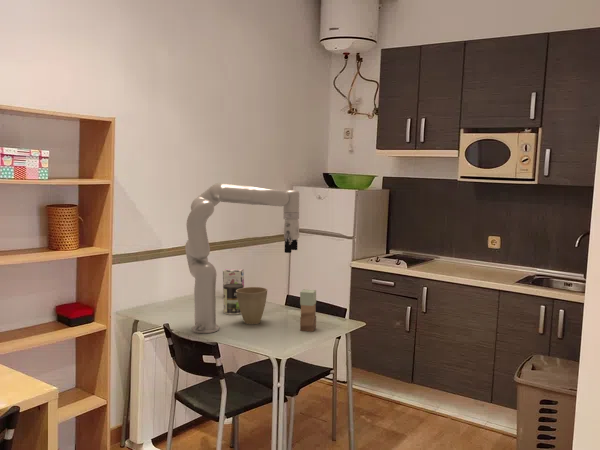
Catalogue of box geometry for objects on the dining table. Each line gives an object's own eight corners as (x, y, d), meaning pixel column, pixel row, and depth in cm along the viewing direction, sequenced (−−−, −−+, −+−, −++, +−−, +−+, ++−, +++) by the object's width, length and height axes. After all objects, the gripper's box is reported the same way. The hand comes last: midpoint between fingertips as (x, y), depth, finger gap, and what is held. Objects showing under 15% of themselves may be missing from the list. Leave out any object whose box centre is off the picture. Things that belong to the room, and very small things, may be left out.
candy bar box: (244, 297, 338) (244, 269, 336) (242, 299, 333) (241, 270, 331) (225, 296, 340) (225, 268, 338) (222, 298, 335) (222, 270, 333)
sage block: (312, 305, 268) (313, 292, 268) (300, 305, 270) (300, 292, 269) (316, 302, 274) (316, 290, 273) (303, 302, 276) (303, 289, 275)
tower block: (314, 318, 269) (314, 305, 269) (300, 318, 270) (300, 305, 269) (315, 315, 275) (315, 302, 274) (302, 314, 276) (302, 302, 275)
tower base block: (312, 331, 269) (312, 318, 269) (300, 330, 271) (300, 317, 271) (316, 328, 275) (316, 315, 275) (303, 327, 277) (303, 314, 276)
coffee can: (247, 311, 305) (247, 284, 304) (233, 315, 297) (233, 288, 296) (233, 308, 312) (232, 282, 310) (219, 312, 303) (218, 285, 302)
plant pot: (265, 317, 293) (265, 286, 292) (269, 325, 279) (269, 292, 277) (235, 319, 291) (235, 287, 289) (237, 327, 276) (237, 293, 275)
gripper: (293, 217, 274) (293, 254, 276) (303, 214, 291) (303, 249, 292) (277, 217, 276) (277, 253, 278) (289, 214, 293) (289, 248, 295)
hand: (291, 251), depth 285 cm, fingers open, 9 cm apart
